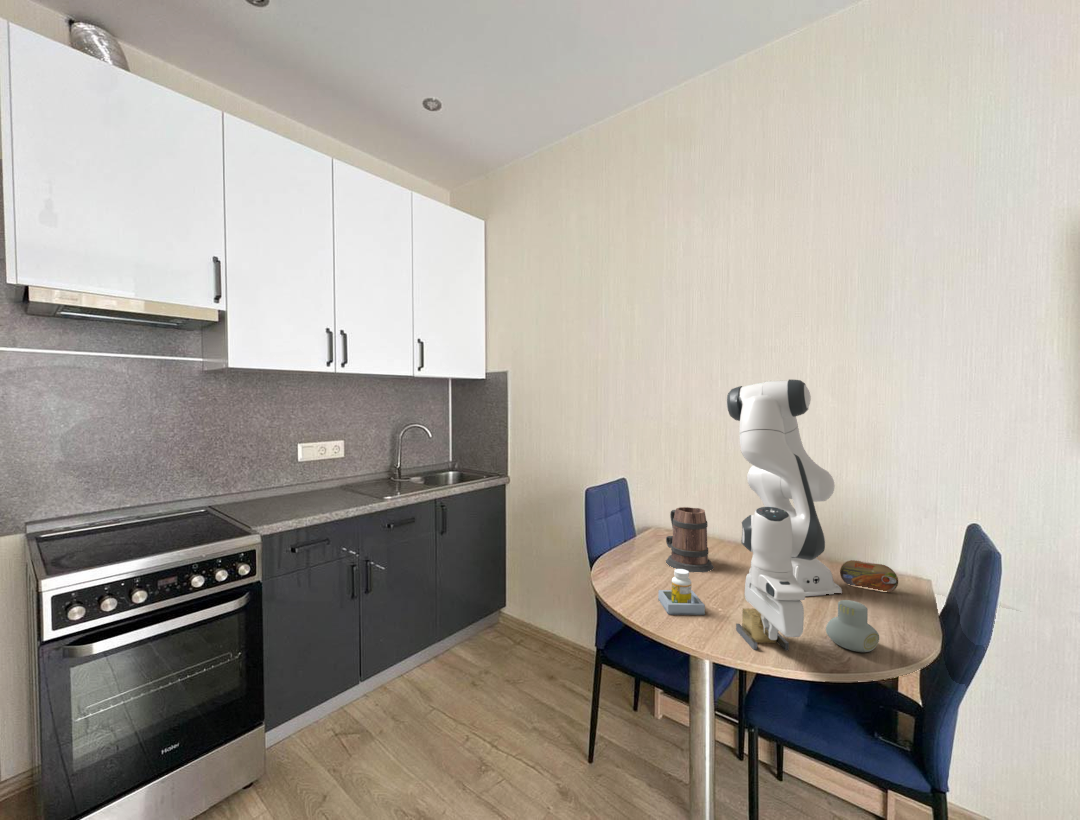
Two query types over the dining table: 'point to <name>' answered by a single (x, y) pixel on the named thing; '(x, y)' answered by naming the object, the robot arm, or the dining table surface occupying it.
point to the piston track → (753, 643)
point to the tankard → (689, 540)
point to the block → (754, 625)
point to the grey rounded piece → (852, 627)
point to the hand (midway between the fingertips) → (770, 636)
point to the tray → (681, 604)
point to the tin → (869, 575)
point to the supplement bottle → (681, 587)
